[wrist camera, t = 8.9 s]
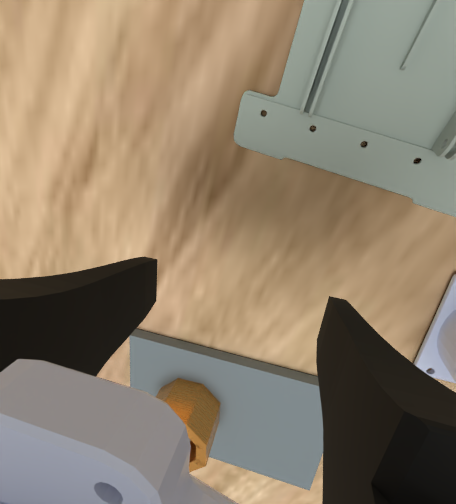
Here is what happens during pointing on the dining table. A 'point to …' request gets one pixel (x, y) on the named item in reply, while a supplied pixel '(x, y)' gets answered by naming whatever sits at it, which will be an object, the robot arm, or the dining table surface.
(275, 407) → the stand
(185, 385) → the collar ring
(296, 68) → the metal bracket
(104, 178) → the dining table surface
